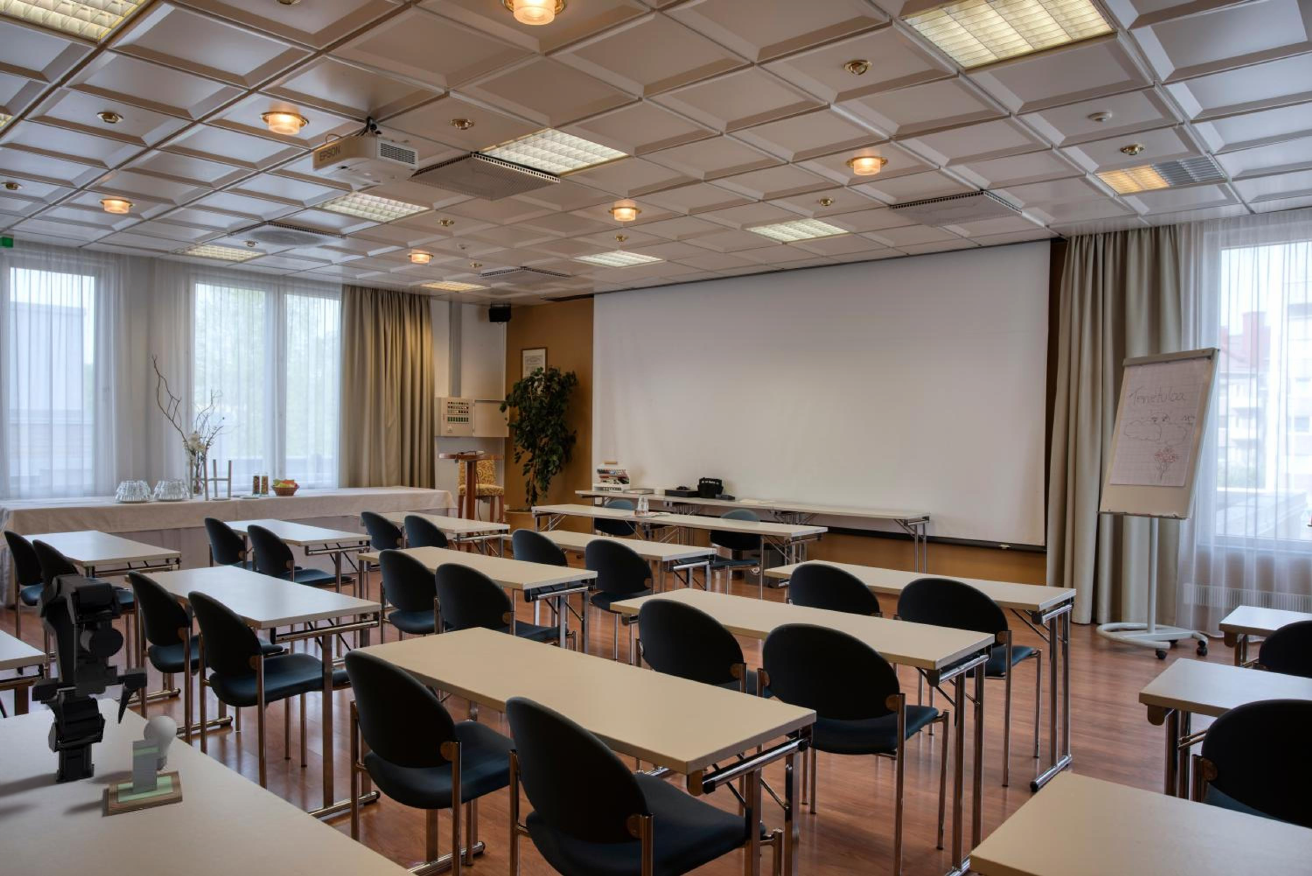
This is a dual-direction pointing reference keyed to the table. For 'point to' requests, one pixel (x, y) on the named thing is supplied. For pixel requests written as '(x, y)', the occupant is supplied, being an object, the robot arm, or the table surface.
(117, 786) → the stand plate
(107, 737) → the table surface
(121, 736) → the table surface
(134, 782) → the column
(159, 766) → the lightbulb
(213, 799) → the table surface
